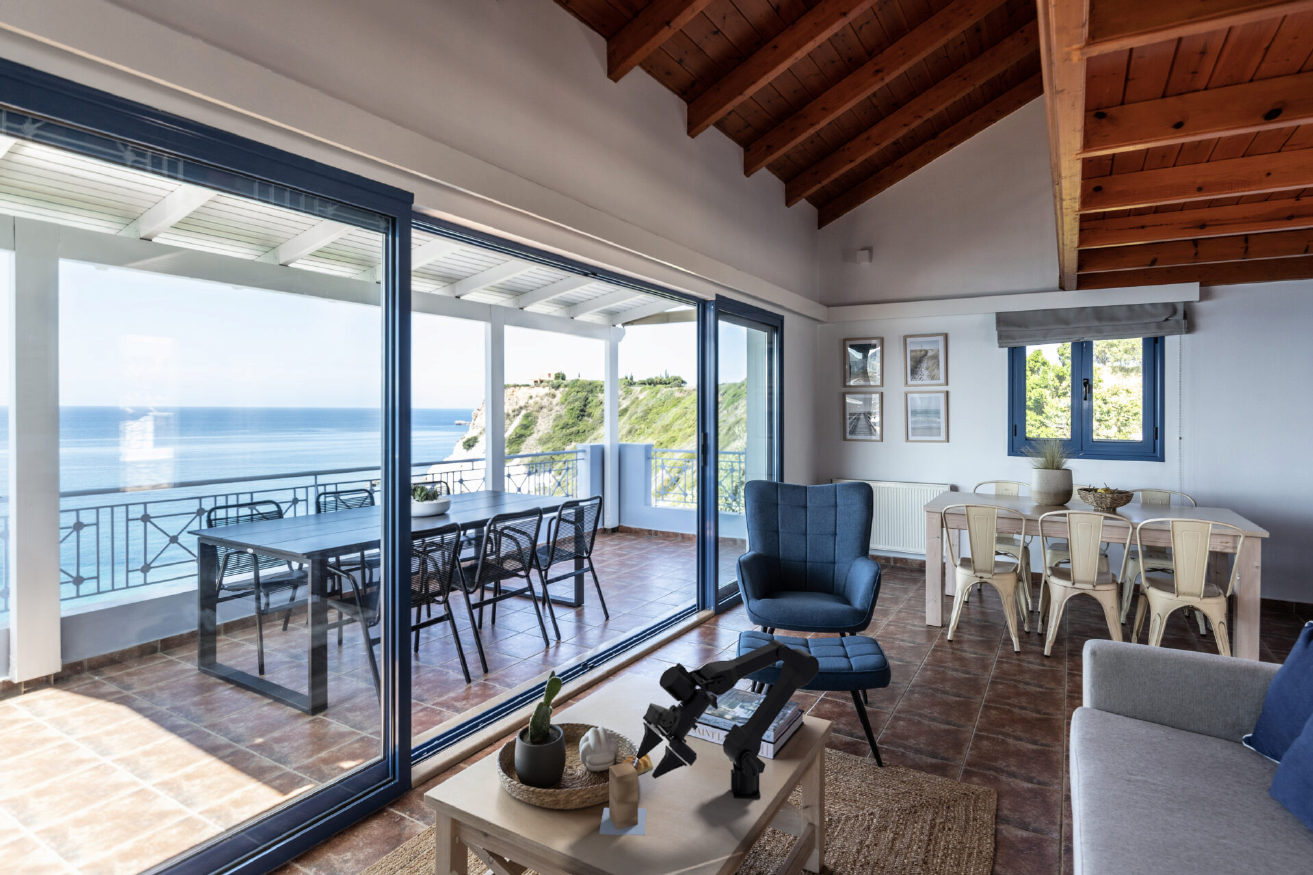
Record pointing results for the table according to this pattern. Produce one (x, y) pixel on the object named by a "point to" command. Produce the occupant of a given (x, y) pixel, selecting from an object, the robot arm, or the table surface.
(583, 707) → the table surface
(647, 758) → the pastry
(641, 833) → the light blue square plate
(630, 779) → the walnut pillar
